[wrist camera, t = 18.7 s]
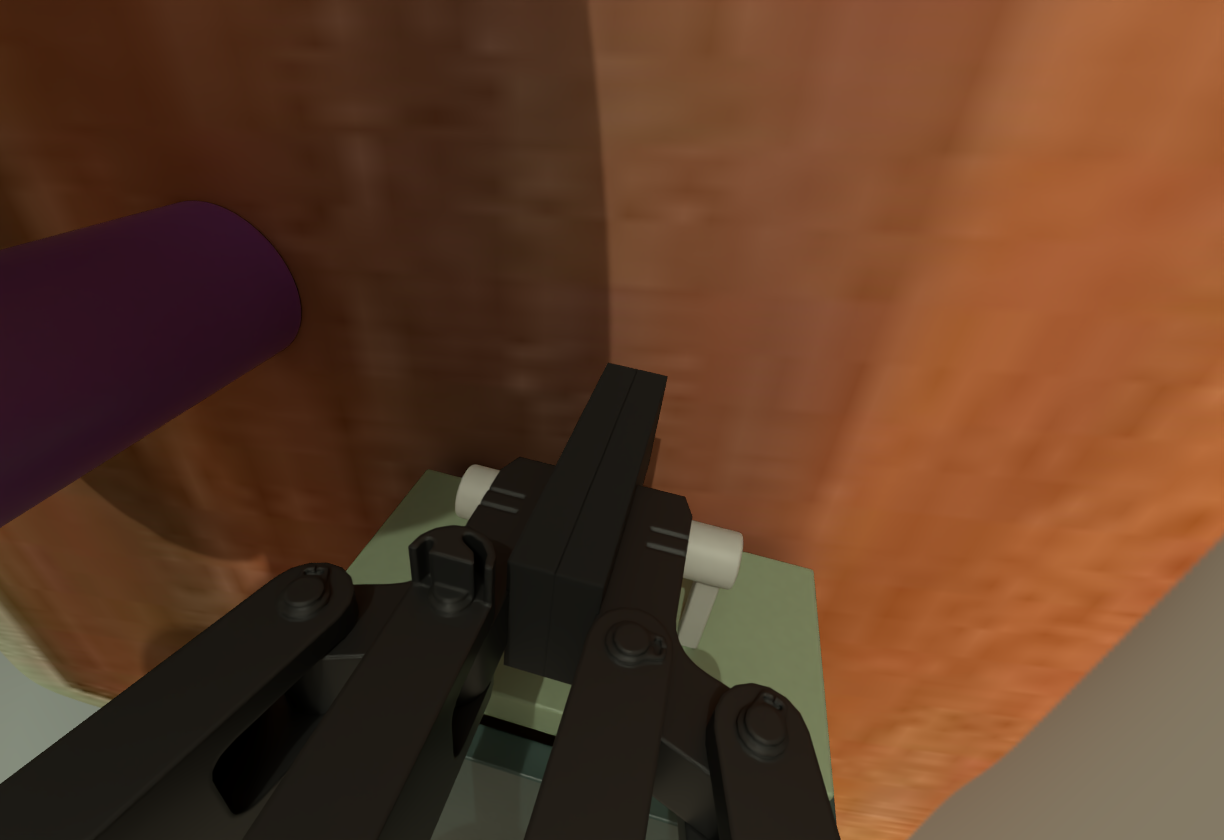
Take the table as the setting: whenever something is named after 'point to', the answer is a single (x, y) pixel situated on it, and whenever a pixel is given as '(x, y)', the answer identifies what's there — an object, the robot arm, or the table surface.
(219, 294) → the snack tube
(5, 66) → the table surface
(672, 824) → the cabinet
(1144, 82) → the table surface
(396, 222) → the table surface
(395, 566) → the drawer
